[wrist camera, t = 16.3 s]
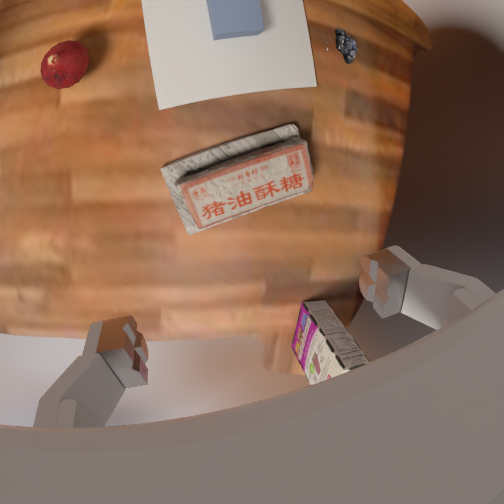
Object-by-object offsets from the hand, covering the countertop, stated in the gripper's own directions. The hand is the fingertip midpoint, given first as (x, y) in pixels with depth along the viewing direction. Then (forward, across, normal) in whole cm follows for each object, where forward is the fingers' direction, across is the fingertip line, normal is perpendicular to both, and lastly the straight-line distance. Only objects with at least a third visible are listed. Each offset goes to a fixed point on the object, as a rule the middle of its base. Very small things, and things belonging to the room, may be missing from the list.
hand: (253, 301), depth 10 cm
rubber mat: (+29, -6, -16) cm, 34 cm away
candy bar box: (+29, -13, +32) cm, 46 cm away
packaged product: (+30, -5, +4) cm, 30 cm away
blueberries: (+30, -22, -13) cm, 39 cm away
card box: (+27, -7, -14) cm, 32 cm away
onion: (+29, +13, -16) cm, 36 cm away
